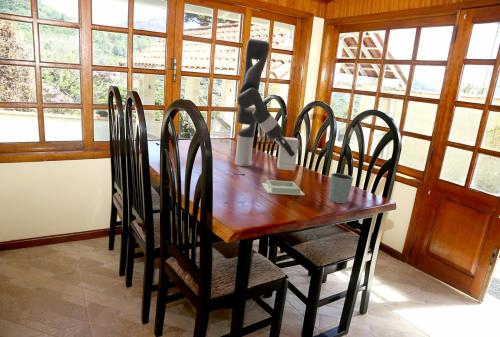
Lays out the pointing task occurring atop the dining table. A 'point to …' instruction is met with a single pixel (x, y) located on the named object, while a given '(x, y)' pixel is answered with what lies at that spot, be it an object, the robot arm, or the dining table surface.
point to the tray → (282, 187)
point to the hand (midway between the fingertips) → (290, 153)
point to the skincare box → (287, 155)
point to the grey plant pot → (340, 187)
